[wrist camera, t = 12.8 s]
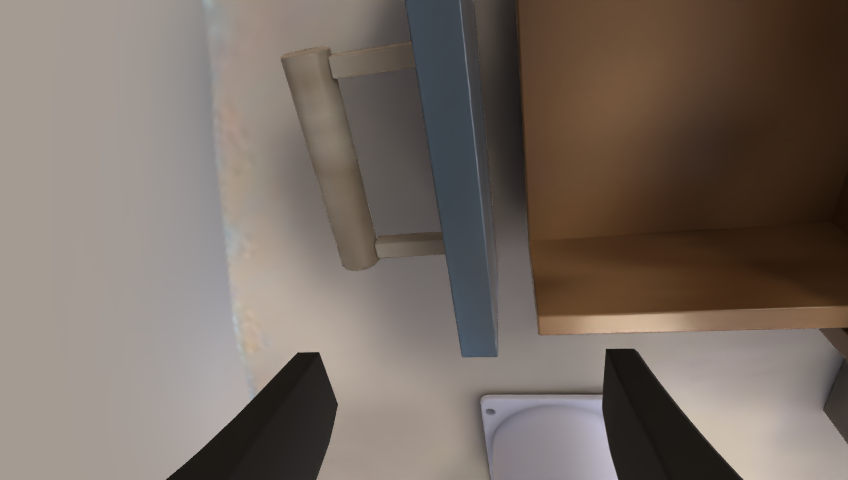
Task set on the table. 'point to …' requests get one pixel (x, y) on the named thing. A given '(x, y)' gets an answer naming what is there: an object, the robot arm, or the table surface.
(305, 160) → the table surface
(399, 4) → the table surface
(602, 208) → the drawer
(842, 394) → the remote
